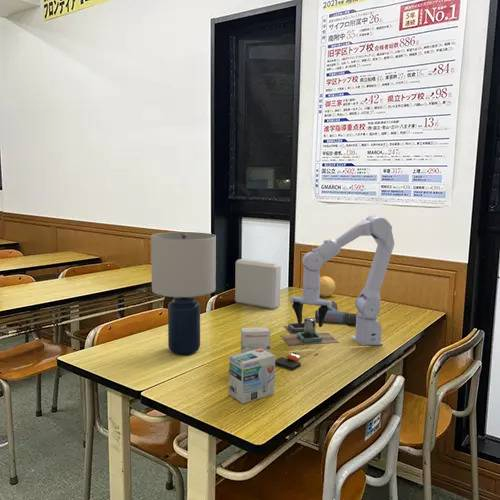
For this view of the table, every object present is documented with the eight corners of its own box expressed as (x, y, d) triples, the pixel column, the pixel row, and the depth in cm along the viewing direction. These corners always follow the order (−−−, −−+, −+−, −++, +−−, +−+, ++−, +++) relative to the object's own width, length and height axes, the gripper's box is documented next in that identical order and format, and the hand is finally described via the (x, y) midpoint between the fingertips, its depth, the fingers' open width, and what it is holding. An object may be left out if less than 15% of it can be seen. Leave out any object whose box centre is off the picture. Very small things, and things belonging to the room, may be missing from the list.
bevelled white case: (282, 306, 211) (283, 262, 208) (273, 310, 204) (274, 265, 201) (243, 299, 222) (243, 257, 219) (233, 303, 215) (233, 260, 212)
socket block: (316, 334, 173) (316, 329, 172) (290, 336, 171) (290, 330, 170) (307, 326, 182) (307, 321, 182) (282, 327, 180) (283, 322, 180)
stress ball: (331, 296, 234) (317, 281, 237) (342, 284, 228) (328, 269, 231) (321, 303, 227) (307, 288, 230) (332, 290, 221) (317, 275, 224)
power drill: (361, 314, 202) (362, 328, 182) (318, 311, 205) (314, 324, 186) (362, 302, 201) (363, 315, 181) (318, 299, 205) (315, 311, 185)
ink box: (268, 362, 145) (268, 326, 144) (270, 369, 140) (271, 331, 139) (240, 363, 144) (240, 326, 143) (241, 370, 140) (242, 331, 138)
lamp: (155, 365, 142) (153, 237, 136) (150, 342, 162) (149, 230, 156) (220, 359, 148) (221, 236, 142) (209, 338, 167) (209, 229, 161)
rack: (338, 344, 163) (339, 338, 163) (289, 347, 159) (289, 341, 159) (328, 334, 173) (328, 329, 172) (280, 337, 169) (281, 332, 168)
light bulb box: (242, 404, 118) (243, 363, 117) (227, 394, 124) (228, 355, 122) (275, 394, 124) (276, 355, 123) (260, 384, 130) (261, 347, 128)
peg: (317, 338, 166) (318, 319, 165) (310, 341, 163) (310, 321, 162) (308, 335, 169) (309, 317, 168) (301, 338, 166) (302, 319, 165)
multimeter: (297, 347, 160) (297, 337, 160) (326, 357, 152) (326, 346, 152) (261, 362, 148) (261, 351, 147) (291, 373, 139) (291, 362, 139)
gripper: (334, 286, 163) (333, 324, 165) (295, 282, 170) (294, 318, 172) (328, 291, 157) (327, 330, 159) (288, 286, 163) (287, 324, 165)
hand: (310, 324), depth 165 cm, fingers open, 7 cm apart
